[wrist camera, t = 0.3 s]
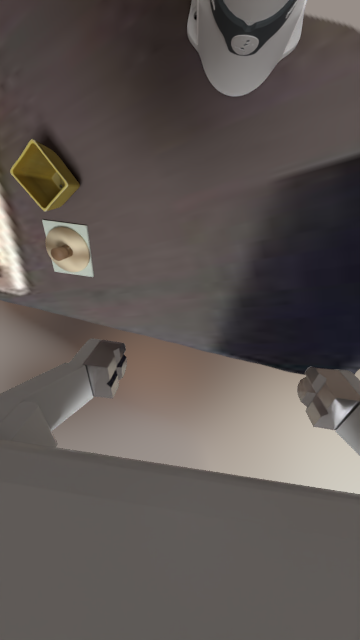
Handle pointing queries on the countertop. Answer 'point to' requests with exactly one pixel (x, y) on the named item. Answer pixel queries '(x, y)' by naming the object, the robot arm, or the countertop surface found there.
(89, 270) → the mat
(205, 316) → the countertop surface
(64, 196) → the flower pot
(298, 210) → the countertop surface
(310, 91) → the countertop surface
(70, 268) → the lid
